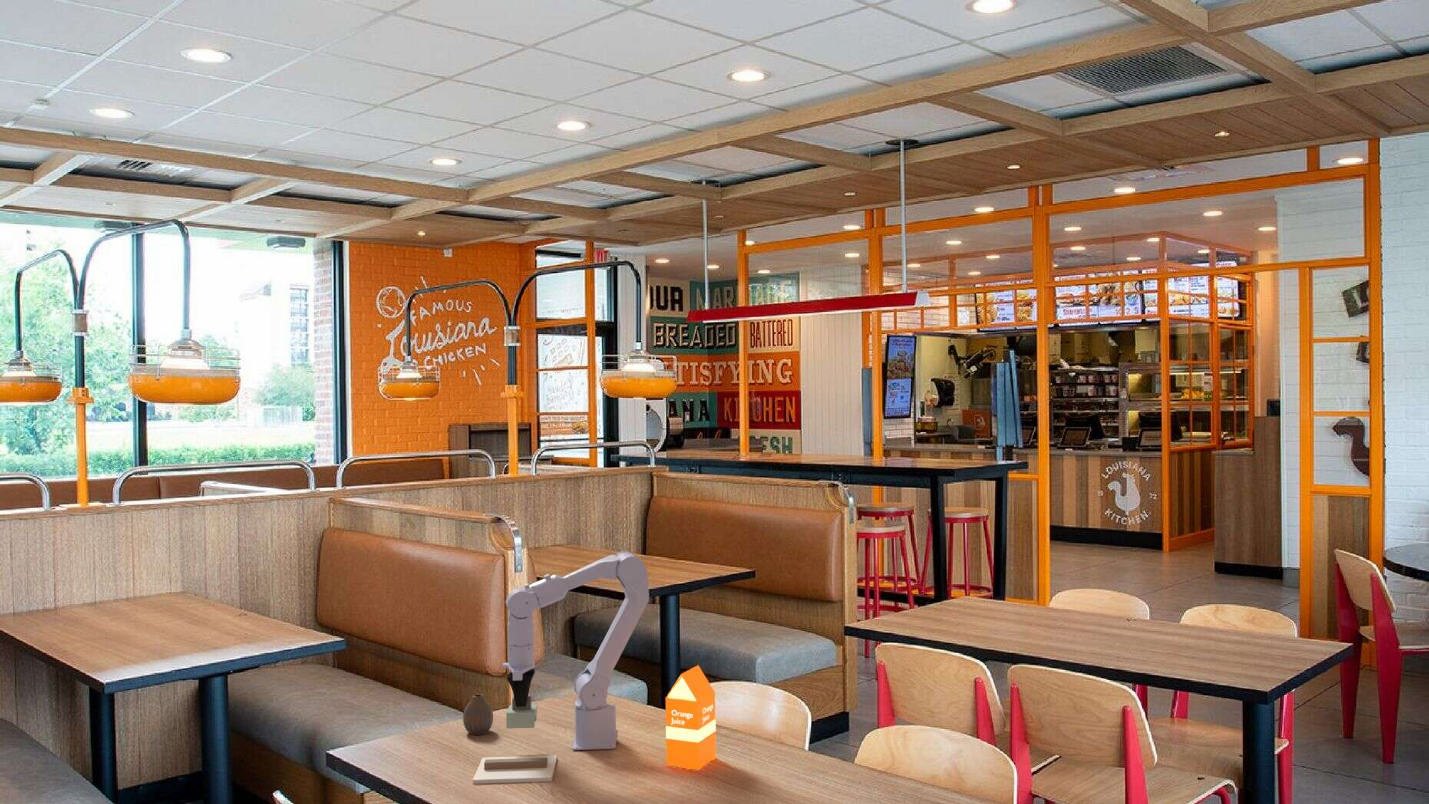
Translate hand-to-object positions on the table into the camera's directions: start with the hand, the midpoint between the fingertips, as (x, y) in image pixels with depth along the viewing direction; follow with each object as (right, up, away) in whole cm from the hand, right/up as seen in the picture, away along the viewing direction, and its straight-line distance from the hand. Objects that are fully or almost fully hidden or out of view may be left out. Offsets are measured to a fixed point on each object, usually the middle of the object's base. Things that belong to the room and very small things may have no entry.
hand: (521, 704), depth 255 cm
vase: (-13, -11, +15) cm, 22 cm away
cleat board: (+1, -11, -13) cm, 17 cm away
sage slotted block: (0, -4, 0) cm, 4 cm away
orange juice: (+38, -10, -9) cm, 40 cm away
